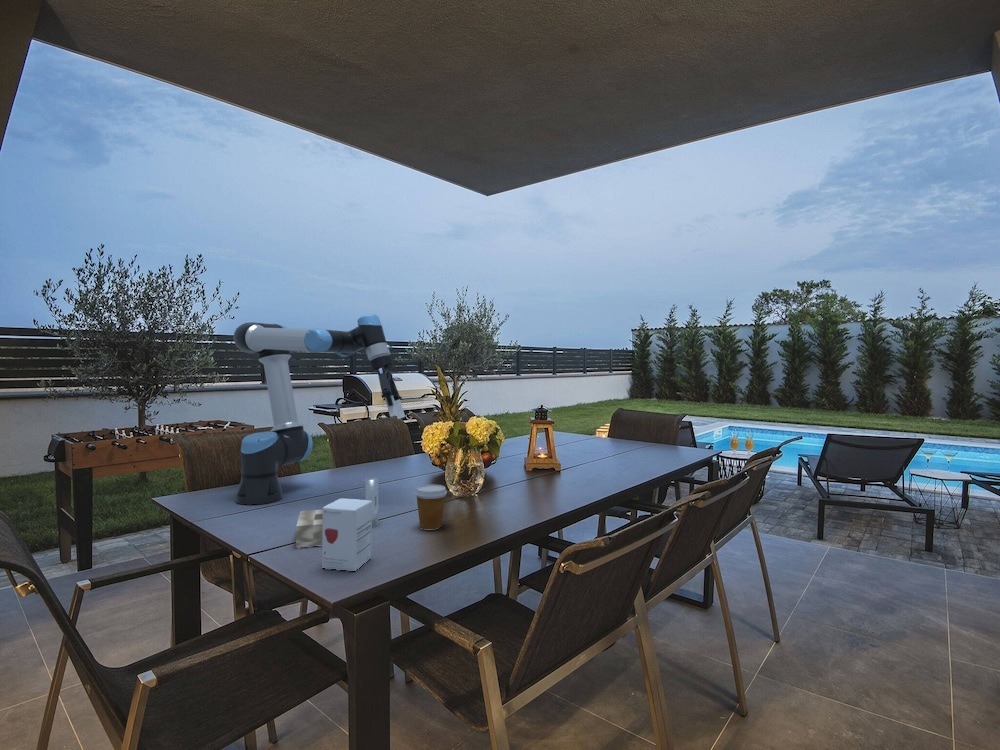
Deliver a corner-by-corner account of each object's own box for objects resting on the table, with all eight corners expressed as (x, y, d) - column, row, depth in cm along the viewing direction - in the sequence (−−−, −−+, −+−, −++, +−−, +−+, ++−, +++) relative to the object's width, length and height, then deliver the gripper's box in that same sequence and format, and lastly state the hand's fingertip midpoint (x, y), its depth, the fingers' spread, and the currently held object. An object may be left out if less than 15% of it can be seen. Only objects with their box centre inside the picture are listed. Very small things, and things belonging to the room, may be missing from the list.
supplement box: (320, 569, 121) (320, 507, 121) (339, 555, 130) (339, 497, 129) (355, 573, 119) (355, 509, 119) (372, 558, 128) (373, 499, 128)
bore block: (295, 548, 134) (296, 526, 134) (300, 531, 148) (300, 511, 147) (351, 543, 138) (351, 521, 138) (350, 527, 152) (350, 507, 151)
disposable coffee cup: (432, 535, 146) (433, 493, 146) (408, 529, 151) (408, 488, 151) (453, 526, 154) (453, 487, 154) (428, 520, 159) (429, 482, 159)
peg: (364, 527, 152) (365, 481, 151) (364, 523, 156) (364, 478, 155) (378, 526, 153) (378, 480, 153) (377, 522, 157) (378, 477, 156)
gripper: (383, 347, 162) (402, 410, 160) (397, 360, 187) (414, 415, 184) (360, 354, 162) (379, 418, 159) (377, 367, 187) (394, 422, 184)
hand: (398, 416), depth 172 cm, fingers open, 13 cm apart
